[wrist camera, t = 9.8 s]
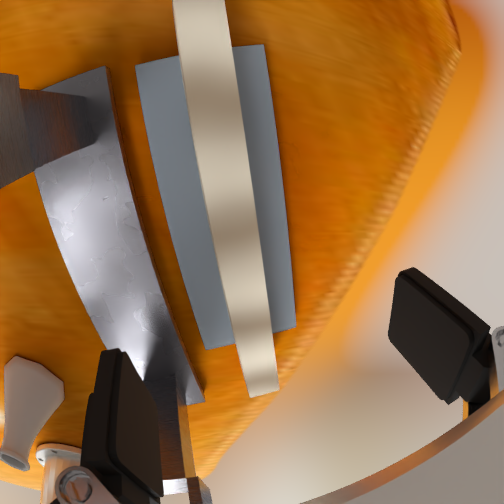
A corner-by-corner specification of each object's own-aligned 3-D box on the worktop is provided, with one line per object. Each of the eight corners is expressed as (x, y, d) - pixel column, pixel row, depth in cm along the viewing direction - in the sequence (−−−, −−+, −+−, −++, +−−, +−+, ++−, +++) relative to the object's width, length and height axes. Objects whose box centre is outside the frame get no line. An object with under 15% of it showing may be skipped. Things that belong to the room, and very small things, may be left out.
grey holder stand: (203, 392, 27) (229, 520, 16) (146, 402, 27) (152, 527, 15) (109, 68, 15) (-8, 2, 3) (27, 100, 14) (-130, 117, 2)
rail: (269, 365, 26) (279, 389, 24) (242, 372, 26) (250, 397, 23) (214, 2, 13) (221, -17, 11) (172, 8, 13) (171, -10, 10)
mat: (292, 319, 26) (296, 326, 25) (204, 342, 25) (205, 350, 24) (259, 47, 16) (263, 44, 15) (137, 67, 15) (134, 65, 14)
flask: (57, 411, 25) (44, 487, 16) (1, 381, 22) (-23, 454, 13) (74, 379, 24) (58, 468, 15) (10, 343, 21) (-25, 427, 12)
